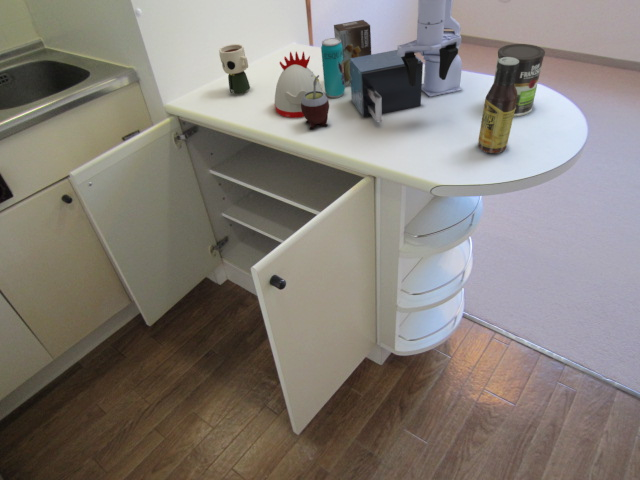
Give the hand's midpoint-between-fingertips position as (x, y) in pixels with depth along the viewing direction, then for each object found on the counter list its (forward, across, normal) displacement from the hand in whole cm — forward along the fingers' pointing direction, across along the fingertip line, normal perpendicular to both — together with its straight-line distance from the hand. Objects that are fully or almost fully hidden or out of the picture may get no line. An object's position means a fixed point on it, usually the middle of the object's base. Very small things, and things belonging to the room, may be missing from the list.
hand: (427, 81), depth 110 cm
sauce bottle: (+11, +8, -18) cm, 22 cm away
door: (+10, -5, +5) cm, 13 cm away
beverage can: (+11, -16, +26) cm, 32 cm away
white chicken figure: (+11, -27, +23) cm, 37 cm away
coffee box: (+11, -8, +32) cm, 35 cm away
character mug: (+11, -42, +41) cm, 60 cm away
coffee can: (+11, +23, -2) cm, 25 cm away
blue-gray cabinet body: (+10, -5, +14) cm, 19 cm away
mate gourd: (+11, -25, +10) cm, 29 cm away
